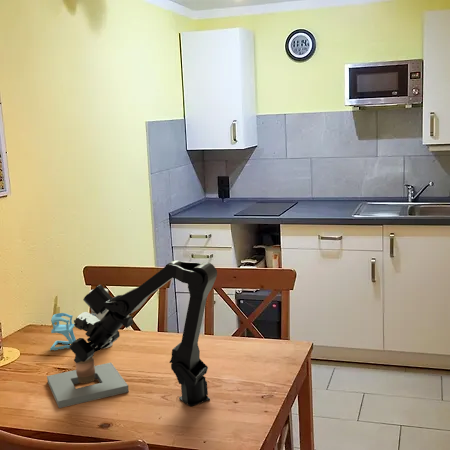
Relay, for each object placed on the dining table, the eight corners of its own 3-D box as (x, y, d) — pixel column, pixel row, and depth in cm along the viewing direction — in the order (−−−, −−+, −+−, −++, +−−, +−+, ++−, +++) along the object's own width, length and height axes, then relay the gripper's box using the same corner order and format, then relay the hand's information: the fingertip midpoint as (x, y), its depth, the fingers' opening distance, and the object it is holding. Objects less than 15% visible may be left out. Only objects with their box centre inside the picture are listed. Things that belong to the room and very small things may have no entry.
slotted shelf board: (128, 391, 183) (128, 385, 183) (58, 408, 175) (58, 401, 175) (111, 368, 201) (111, 362, 201) (47, 382, 193) (47, 376, 193)
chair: (73, 350, 220) (70, 317, 217) (50, 350, 220) (46, 318, 218) (78, 342, 227) (76, 310, 225) (56, 343, 227) (52, 311, 225)
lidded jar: (89, 384, 184) (85, 351, 183) (73, 382, 186) (70, 350, 184) (99, 376, 189) (96, 345, 188) (83, 375, 191) (80, 343, 189)
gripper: (107, 295, 191) (80, 328, 197) (71, 315, 174) (43, 350, 180) (132, 322, 189) (104, 354, 195) (99, 344, 172) (69, 378, 178)
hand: (80, 358), depth 187 cm, fingers closed on lidded jar, 5 cm apart
